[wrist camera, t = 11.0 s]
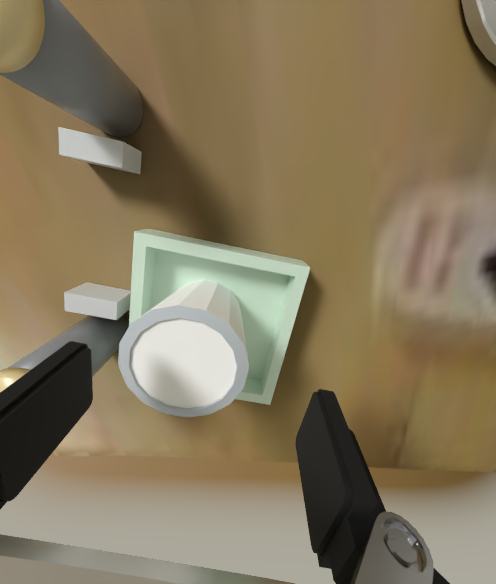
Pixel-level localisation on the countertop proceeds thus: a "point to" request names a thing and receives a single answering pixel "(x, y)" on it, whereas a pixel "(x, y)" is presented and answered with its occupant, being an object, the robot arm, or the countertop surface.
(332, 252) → the countertop surface
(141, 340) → the white cup
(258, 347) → the tray
